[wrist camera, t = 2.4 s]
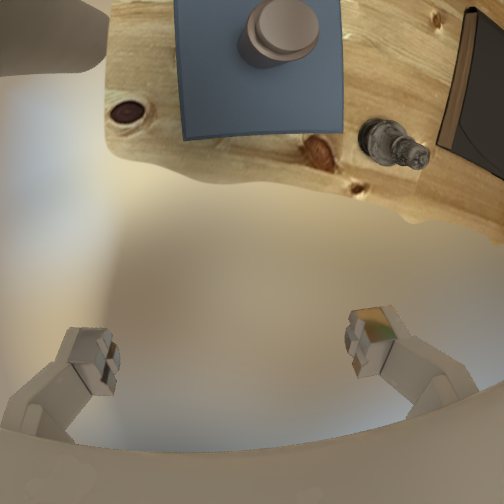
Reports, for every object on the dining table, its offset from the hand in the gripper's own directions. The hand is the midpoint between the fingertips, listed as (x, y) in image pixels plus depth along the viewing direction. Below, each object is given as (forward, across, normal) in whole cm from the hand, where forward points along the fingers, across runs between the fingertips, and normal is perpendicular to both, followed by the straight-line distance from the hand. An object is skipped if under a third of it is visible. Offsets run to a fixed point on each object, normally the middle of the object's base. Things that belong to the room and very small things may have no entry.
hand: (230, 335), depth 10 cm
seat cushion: (+31, -5, -10) cm, 33 cm away
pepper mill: (+27, -5, -11) cm, 30 cm away
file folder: (+31, -49, -7) cm, 58 cm away
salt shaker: (+31, -20, 0) cm, 37 cm away
